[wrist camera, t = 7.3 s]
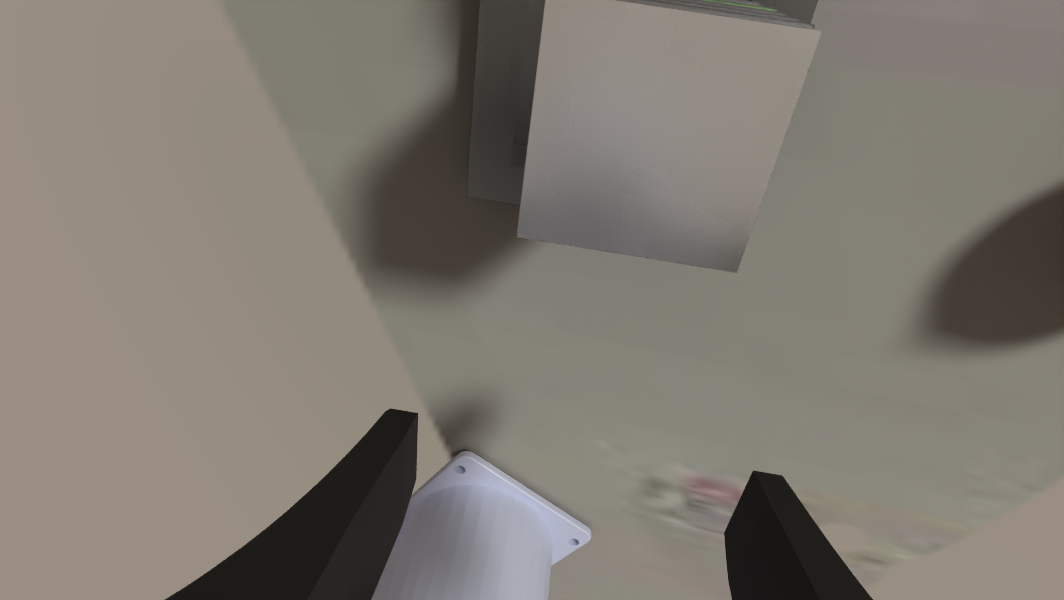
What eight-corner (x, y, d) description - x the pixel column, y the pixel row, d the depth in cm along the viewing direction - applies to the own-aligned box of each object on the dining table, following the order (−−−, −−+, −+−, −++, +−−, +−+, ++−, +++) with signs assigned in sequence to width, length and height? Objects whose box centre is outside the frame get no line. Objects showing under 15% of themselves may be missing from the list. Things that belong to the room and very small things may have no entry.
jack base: (729, 224, 20) (790, 366, 14) (473, 183, 21) (406, 303, 14) (900, -291, 14) (1196, -527, 7) (512, -343, 14) (419, -619, 7)
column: (697, 169, 15) (737, 274, 11) (543, 145, 16) (514, 238, 11) (746, -3, 13) (824, 29, 8) (567, -29, 13) (545, -13, 9)
